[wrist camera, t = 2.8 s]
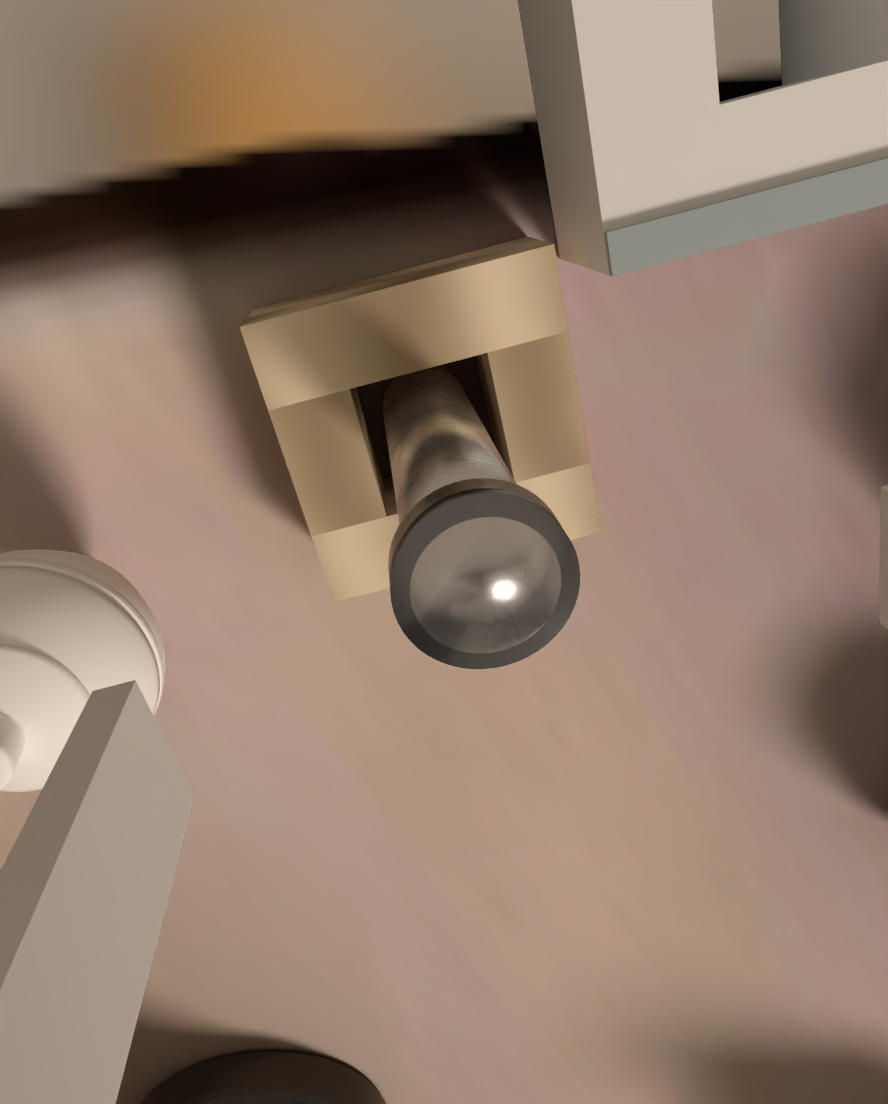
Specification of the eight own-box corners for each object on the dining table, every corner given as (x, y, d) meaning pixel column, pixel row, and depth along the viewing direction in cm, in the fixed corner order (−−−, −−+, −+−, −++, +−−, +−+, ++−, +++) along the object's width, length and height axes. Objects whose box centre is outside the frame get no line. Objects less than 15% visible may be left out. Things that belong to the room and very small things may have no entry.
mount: (335, 555, 32) (333, 602, 29) (253, 309, 28) (239, 327, 24) (573, 493, 32) (601, 531, 29) (527, 236, 28) (554, 243, 24)
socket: (560, 258, 28) (612, 276, 23) (491, -164, 23) (537, -279, 18) (884, 172, 28) (1019, 168, 23) (887, -270, 23) (1062, -418, 18)
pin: (387, 469, 31) (417, 688, 17) (359, 369, 29) (367, 527, 16) (486, 443, 31) (593, 642, 17) (464, 342, 29) (563, 475, 16)
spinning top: (221, 635, 33) (160, 852, 22) (37, 666, 33) (-116, 901, 22) (171, 463, 30) (71, 619, 19) (-33, 495, 30) (-255, 673, 19)
